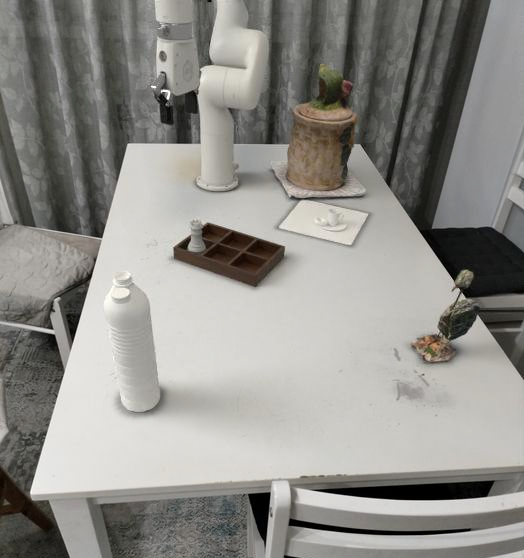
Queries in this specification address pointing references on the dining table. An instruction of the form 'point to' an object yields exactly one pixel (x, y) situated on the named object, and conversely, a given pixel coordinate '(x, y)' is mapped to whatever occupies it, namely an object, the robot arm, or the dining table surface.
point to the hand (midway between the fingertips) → (179, 118)
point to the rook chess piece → (196, 238)
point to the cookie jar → (321, 143)
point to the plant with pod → (450, 324)
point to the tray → (232, 254)
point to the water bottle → (132, 343)
